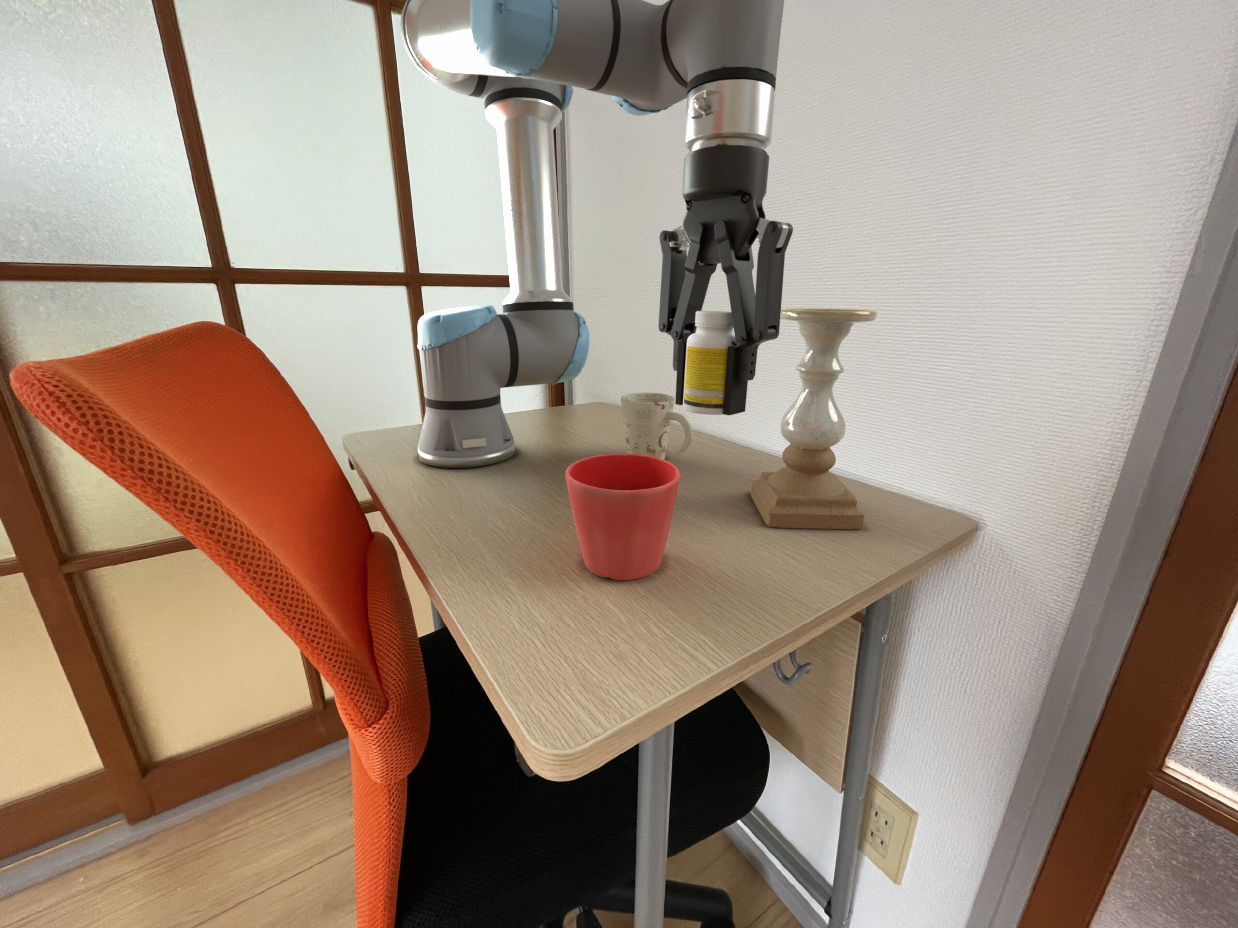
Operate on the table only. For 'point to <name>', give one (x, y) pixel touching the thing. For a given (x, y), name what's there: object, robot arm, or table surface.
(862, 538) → the table surface
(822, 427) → the candle holder
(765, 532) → the table surface
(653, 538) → the flower pot
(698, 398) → the supplement bottle
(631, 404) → the mug
